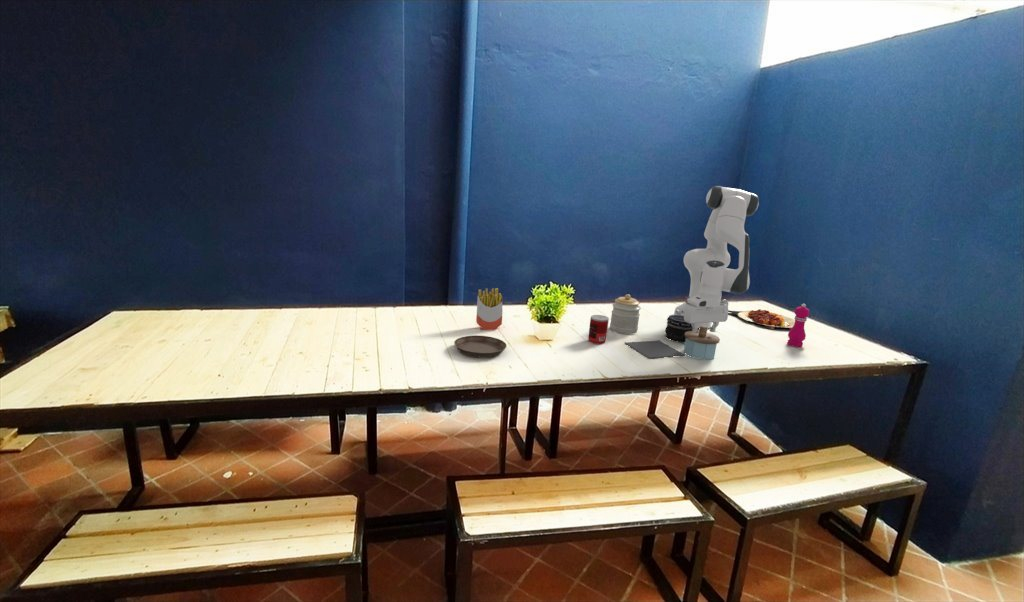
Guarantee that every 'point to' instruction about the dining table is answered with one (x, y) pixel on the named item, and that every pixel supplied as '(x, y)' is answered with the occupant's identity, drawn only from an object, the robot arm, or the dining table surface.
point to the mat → (654, 349)
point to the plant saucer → (480, 346)
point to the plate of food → (765, 318)
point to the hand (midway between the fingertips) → (703, 332)
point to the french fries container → (489, 310)
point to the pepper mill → (798, 327)
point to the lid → (702, 336)
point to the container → (677, 328)
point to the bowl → (699, 349)
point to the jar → (625, 315)
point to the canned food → (598, 329)
